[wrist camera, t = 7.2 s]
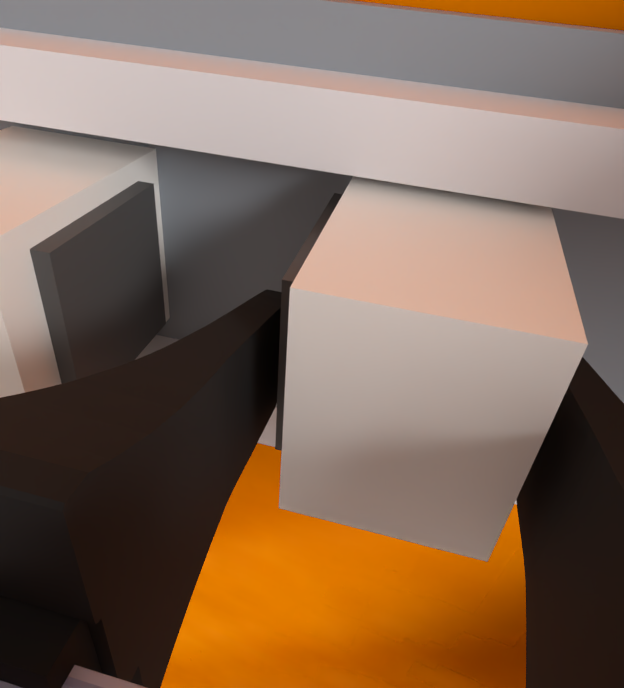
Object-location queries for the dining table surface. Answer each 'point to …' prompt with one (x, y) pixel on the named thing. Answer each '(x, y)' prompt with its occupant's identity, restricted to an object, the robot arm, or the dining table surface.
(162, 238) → the rail plate
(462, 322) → the block
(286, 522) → the dining table surface
